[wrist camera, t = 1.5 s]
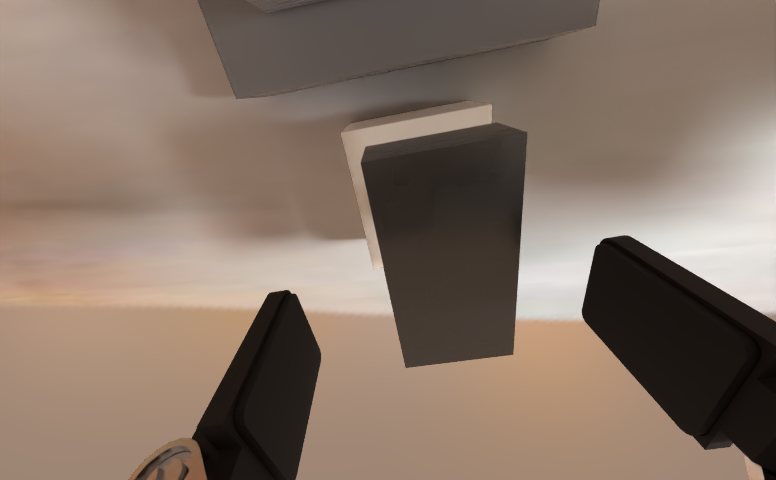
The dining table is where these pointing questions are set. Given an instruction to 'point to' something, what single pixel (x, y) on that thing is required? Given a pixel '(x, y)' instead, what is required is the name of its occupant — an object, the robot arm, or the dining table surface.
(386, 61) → the grey flat slab
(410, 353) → the block
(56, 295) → the dining table surface
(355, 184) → the key stand
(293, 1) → the chuck
